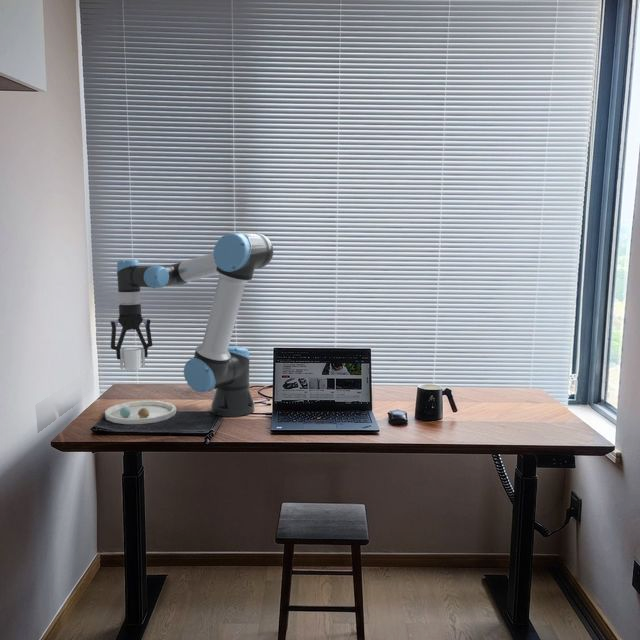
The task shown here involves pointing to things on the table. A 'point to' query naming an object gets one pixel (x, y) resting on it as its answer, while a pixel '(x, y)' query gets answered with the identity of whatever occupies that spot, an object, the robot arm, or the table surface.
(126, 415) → the bead teal
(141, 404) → the ring tray
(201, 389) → the robot arm
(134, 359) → the shot glass
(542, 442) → the table surface
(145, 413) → the bead honey
